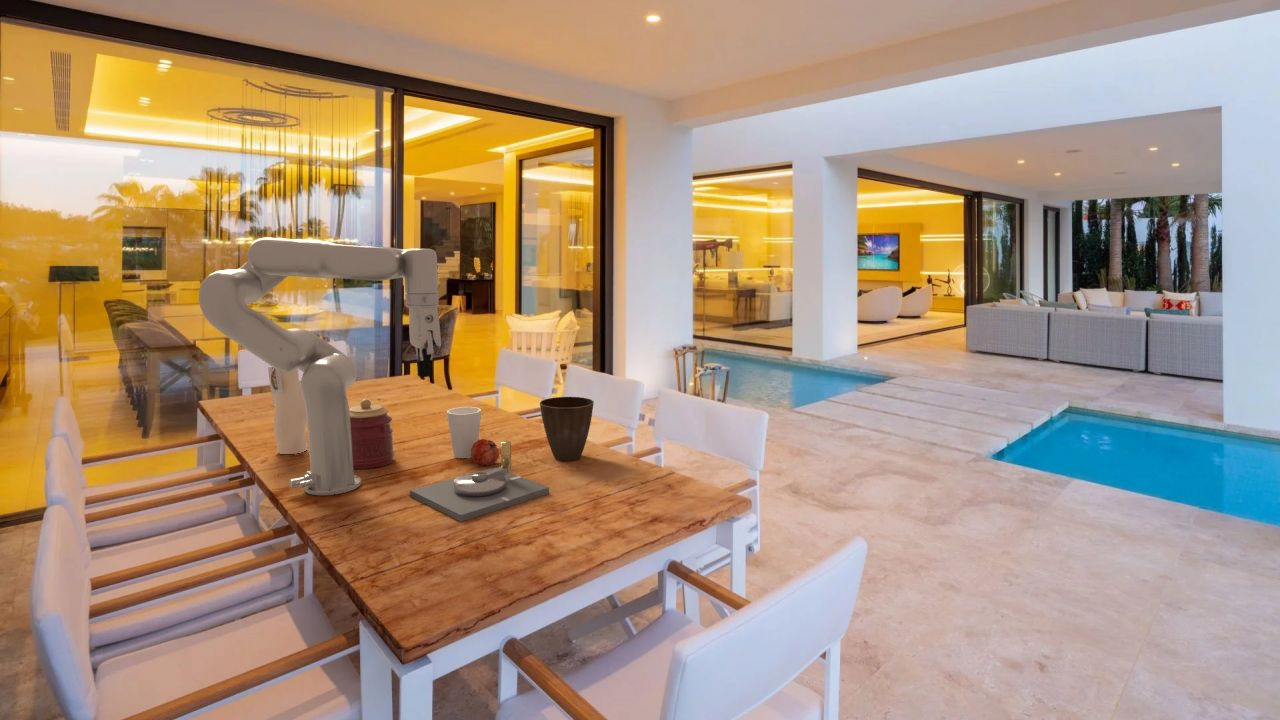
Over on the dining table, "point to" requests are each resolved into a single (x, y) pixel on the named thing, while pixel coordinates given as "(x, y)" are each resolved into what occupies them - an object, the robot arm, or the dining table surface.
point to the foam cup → (463, 429)
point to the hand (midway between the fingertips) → (425, 376)
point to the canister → (371, 435)
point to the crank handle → (485, 477)
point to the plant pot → (567, 425)
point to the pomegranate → (484, 452)
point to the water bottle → (288, 411)
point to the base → (471, 507)
